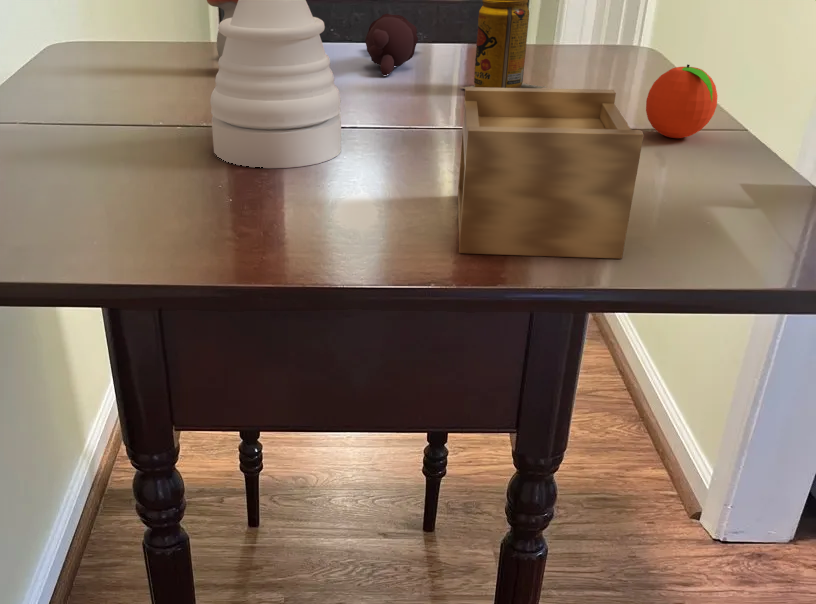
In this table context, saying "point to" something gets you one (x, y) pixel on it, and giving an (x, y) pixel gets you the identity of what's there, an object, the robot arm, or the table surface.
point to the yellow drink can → (501, 44)
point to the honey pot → (275, 88)
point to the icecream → (391, 41)
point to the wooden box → (545, 173)
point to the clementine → (681, 102)
